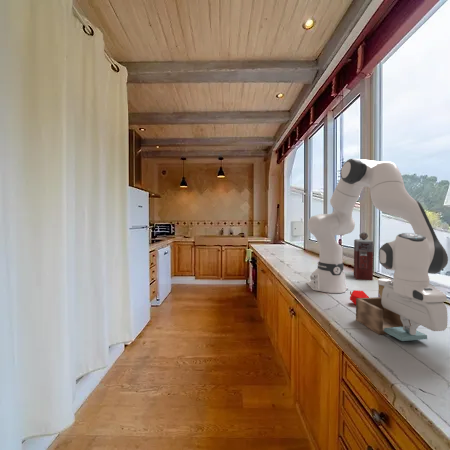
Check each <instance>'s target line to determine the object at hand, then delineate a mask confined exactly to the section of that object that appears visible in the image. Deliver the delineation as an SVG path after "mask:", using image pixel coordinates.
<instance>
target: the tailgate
mask: <svg viewBox="0 0 450 450" xmlns="http://www.w3.org/2000/svg"><path fill="white" fill-rule="evenodd" d="M384 332H386V333H388V334H387V335H390V336H392V337H394V338H395V339H397V340H399V341H401V342H407V341H408V342H409V341H421V340H428V335H427V334H425V333H424V332H421V331H419V330H417V329H416V335H411V334H409V333H407V332H405V331H404V330H403V327H391V328H384Z"/></svg>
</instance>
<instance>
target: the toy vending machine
mask: <svg viewBox="0 0 450 450" xmlns="http://www.w3.org/2000/svg"><path fill="white" fill-rule="evenodd" d="M358 236H359V238H360V239H358V238H357V239H354V240H353V278H354V279H355V280H358V281H359V280H360V281H363V280H364V281H374V241H373V240H372V239H368V237H369V235H368V233H366V232H363V231H362V232H360V234H359V235H358Z"/></svg>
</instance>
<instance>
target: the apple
mask: <svg viewBox="0 0 450 450" xmlns="http://www.w3.org/2000/svg"><path fill="white" fill-rule="evenodd" d="M349 295H350V296H349V300H350V301H351V303H353V304H354V305H355V306H356V298H370V297H369V295H368V294H367V293H365V291H364V290H356V289H355V290H354V289H353V290H352V291H350V292H349Z"/></svg>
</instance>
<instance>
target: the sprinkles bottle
mask: <svg viewBox="0 0 450 450" xmlns="http://www.w3.org/2000/svg"><path fill="white" fill-rule="evenodd" d="M387 281H392V280H391V279H388V278H378V279H377V284H378V291H377V297H382V292H383V289H384V284H385V283H386V282H387Z"/></svg>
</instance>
